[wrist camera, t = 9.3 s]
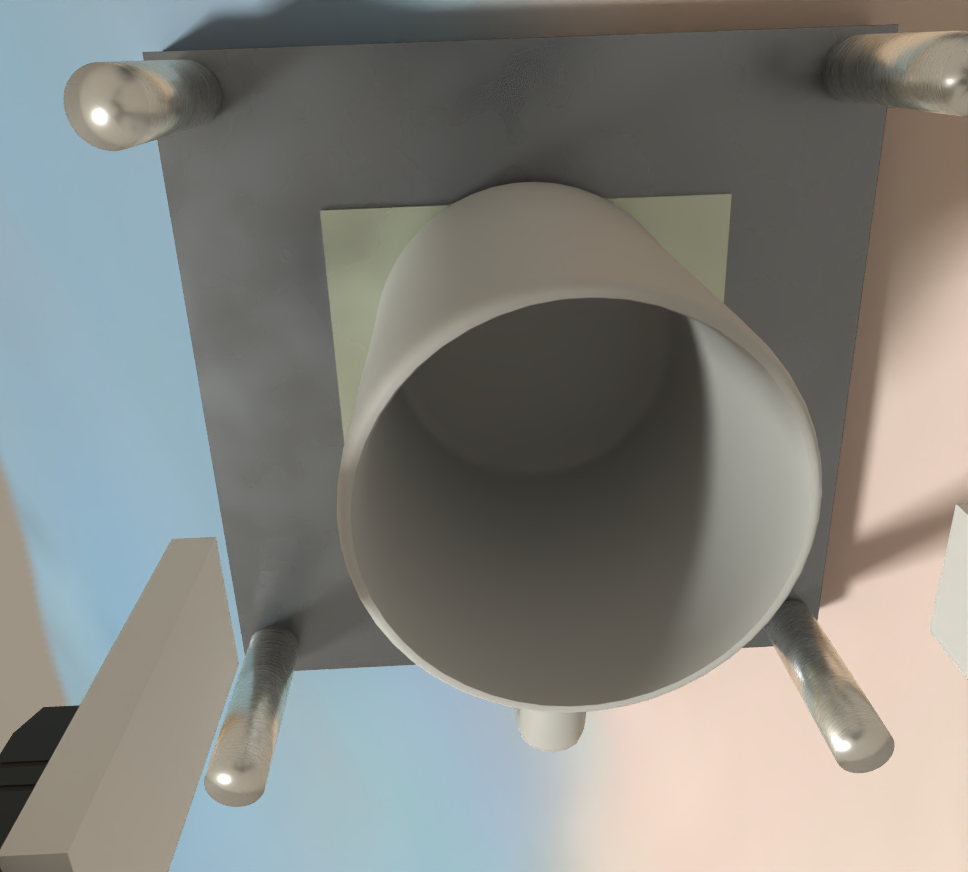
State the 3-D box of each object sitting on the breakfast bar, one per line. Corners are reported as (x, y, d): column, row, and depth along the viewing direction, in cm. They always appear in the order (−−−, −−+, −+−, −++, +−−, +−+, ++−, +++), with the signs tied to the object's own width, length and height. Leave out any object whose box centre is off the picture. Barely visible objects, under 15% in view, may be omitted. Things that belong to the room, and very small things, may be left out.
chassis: (160, 52, 24) (42, 52, 17) (872, 25, 24) (1043, 15, 17) (257, 645, 31) (203, 814, 24) (798, 618, 32) (895, 776, 25)
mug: (370, 179, 23) (311, 276, 13) (692, 178, 24) (872, 273, 14) (388, 572, 28) (355, 861, 18) (656, 567, 29) (770, 850, 18)
